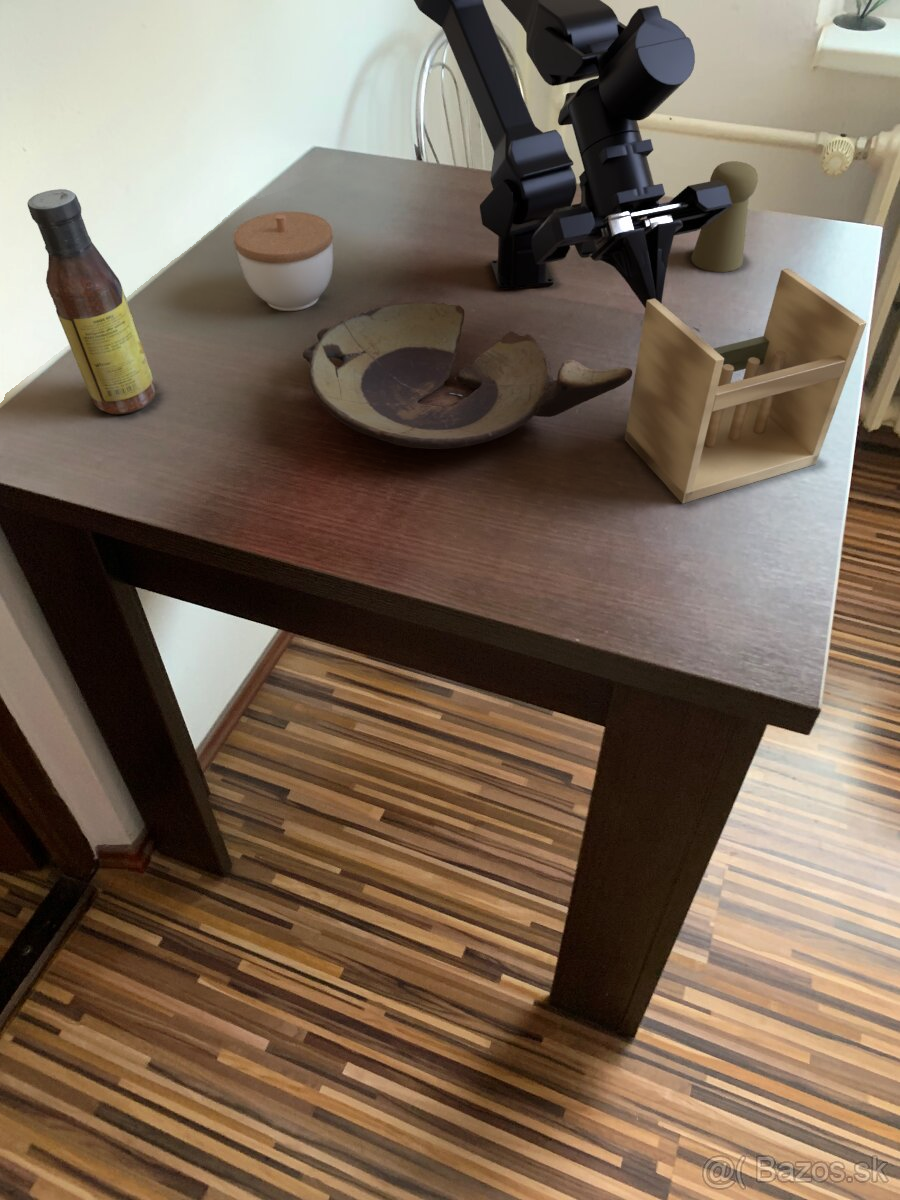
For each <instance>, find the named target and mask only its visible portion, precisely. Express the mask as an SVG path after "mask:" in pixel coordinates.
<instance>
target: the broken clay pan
mask: <svg viewBox="0 0 900 1200" xmlns="http://www.w3.org/2000/svg"><path fill="white" fill-rule="evenodd" d="M464 319H465V309H464V308H463V307H462V306H461V305H455V304H454V305H453V304H447V303H443V302H441V303H440V302H434V301H433V302H414V301H413V302H412V301H409V302H399V303H393V304H388V305H384V306H381V307H377V308H374V309H373V310H372V309H371V310H369V311H366V312H361V313H360V314H359V315H353V316H352V317H349V318H348V319H346V320H343V321H340V322H339V323H338V324H336V325H333V326H330V327H325V328H322V329H320V330H319V331H318V332H317V334H316V338H317V340H318V341H317V342H316V343H314V344H313V345H312V346H310V347H307V348H305V349H304V350H303V351H302V357H303V359H305V361H306V362H307V363H309V367H308V378H309V381H310V386H311V389H312V391H313V394H314V395H315V397H316V399H317V400H318V402H319V403H320V404H321V406H323V408H324V409H325V410H326V411H327V412H328V413H329V414H330V415H332V416H333V418H335V419H337V421H340V422H341V423H343V424H344V425H346V426H347V427H349V428H350V429H352V430H354V431H357V432H358V433H361V434H364V435H367V436H369V437H372V438H375V439H377V440H379V441H380V440H381V441H383V442H388V443H390V444H393V445H397V446H402V447H406V448H414V449H426V450H427V449H428V450H443V449H444V450H445V449H456V448H464V447H470V446H474V445H480V444H483V443H486V442H487V443H488V442H490V441H494V440H495V439H496V440H497V439H499V438H501V437H504V436H506V435H508V434H510V433H513V432H514V431H515V430H517V429H518V428H520V427H521V426H524V425H525V424H526V423H527V422H529V421H530V420H531V419H532V418H533V417H541V418H551V417H555V416H557V415H560V414H562V413H564V412H567V411H568V410H571V409H572V408H574V407H576V406H579V405H581V404H583V403H585V402H588V401H590V400H592V399H595V398H597V397H599V396H601V395H603V394H606V393H608V392H610V391H612V390H615V389H618V388H620V387H622V386H623V385H624V384H626V383H627V382H628V381H630V380H631V378H632V376H633V369H631V368H629V367H626V366H618V367H614V368H608V369H592V368H588V367H586V366H585V365H584V364H582V363H580V362H579V361H577V360H575V359H573V358H572V359H571V358H570V359H566V360H565V361H563V362H562V364H561V366H560V369H559V370H558V372H557V373H558V374H557V376H556V377H557V378H556V379H554V377H553V376H552V373H551V366H550V361H549V360H548V356H547V354H546V353H545V350H544V349H543V348H542V346H541V345H540V344H539V342H538V341H537V340H536V339H535V338H534V337H533V336H531V335H530V334H529V333H526V334H524V335H521V334H519V333H517V332H514V331H510V332H508V333H506V334H505V335H503V337H502V338H501V339H498V340H497V341H496V342H495V344H494V345H493V346H492V347H491V348H489V349H486V350H485V351H484V352H483V353H481V355H479V357H476V359H474V360H473V361H471V362H470V363H469V364H468V365H466V366H465V367H463V368H462V369H461V370H460V371H458V373H457V374H456V376H455V380H457V381H458V382H459V383H462V384H464V385H466V387H467V386H469V387H472V388H473V389H474V390H473V392H472V393H469V395H467V396H466V397H463V394H456V393H453V392H452V393H451V392H449V393H448V394H449V395H456V396H460V397H461V399H459V401H458V402H457V403H455V404H453V405H451V406H448V407H447V406H440V405H438V406H437V405H433V404H427V403H425V404H424V403H420V402H419V401H422V400H423V399H424V398H426V397H427V396H429V395H431V394H433V393H435V392H436V391H437V390H438V389H440V388H442V386H443V385H444V384H445V381H448V379H449V377H450V376H451V372H452V370H453V367H454V364H455V358H456V357H457V353H458V349H459V348H458V347H459V342H460V338H461V336H462V329H463V324H464ZM332 359H340V360H341V363H342V364H341V365H340V366H336V365H334V363H333V362H332V361H331V360H332ZM462 397H463V398H462Z"/></svg>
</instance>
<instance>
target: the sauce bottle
mask: <svg viewBox="0 0 900 1200" xmlns="http://www.w3.org/2000/svg"><path fill="white" fill-rule="evenodd" d="M27 208H28V211H29V214H30V216H31V219H32V220H33V221H34V222H35V223H36V224H37V225H36V226H37V227H38V230H39V232H40V236H41V238H42V240H43V242H44V245H45V246H44V249H45V251H46V252H47V254H48V263H47V265H48V268H47V271H46V277H45V284H46V287H47V290H48V293H49V295H50V297H51V299H52V301H53V305H54V308H55V313H56V315H57V317H58V320H59V322H60V324H61V325H60V326H61V327H62V330H63V332H64V334H65V336H66V337H65V338H66V340H67V343H68V344H69V347H70V349H71V352H72V354H73V357H74V359H75V361H76V364H77V366H78V367H77V368H78V370H79V372H80V374H81V377H82V379H83V382H84V384H85V386H86V389H87V391H88V393H89V395H90V397H91V398H92V400H93V404H94V405H95V407H96V408H98V409H99V410H101V411H103V412H105V413H107V414H111V415H126V414H131V413H135V412H137V411H139V410H142V409H144V408H145V407H146V406H148V405H149V404H150V403H151V402H152V401H153V399H154V398H155V396H156V391H155V390H156V388H155V384H154V380H153V379H154V378H153V373H152V370H151V367H150V364H149V362H148V359H147V355H146V354H145V350H144V346H143V343H142V341H141V338H140V335H139V331H138V329H137V326H136V324H135V322H134V318H133V314H132V312H131V309H130V307H129V304H128V301H127V297H126V294H125V292H124V289H123V286H122V284H121V283H122V282H121V281H120V279H119V277H118V276H117V275H116V273H115V272H114V271H113V269H112V268H111V266H110V265H109V264H108V262H107V261H106V259H105V258H104V257H103V255H102V254H101V253H100V251H99V249H98V248H97V247H96V246H95V244H94V242H92V238H91V236H90V235H89V233H88V230H87V228H86V224H85V222H84V219H83V216H82V205H81V203H80V201H79V199H78V196H77V194H76V193H74V192H73V191H72V190H69V189H66V188H57V189H51V190H45V191H43V192H39V193H37V194H34V195H33V196H31V197H30V198H29V199H28V201H27Z"/></svg>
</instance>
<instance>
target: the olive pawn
mask: <svg viewBox="0 0 900 1200" xmlns="http://www.w3.org/2000/svg"><path fill="white" fill-rule="evenodd" d="M715 180H719V181H721V182H722V183H724V184H725V185H726V186H727V188H728V190H729V194H730V198H731V201H732V205H733V206H732V207H730V208H729V209H728V210H726V211H725V212H724V213H722V214H721V215H720V216H718V217H717V218H716V219H714V220H713V221H712V222H710V223H709V224H708V225H707V226H705V227H704V228H702V229H700V230H699V234H698V237H697V240H696V243H695V246H694V248H693V252H692V255H691V261H692V263H693V264H694V265H695V266H696V267H698V268H700V269H702V270H706V271H708V272H714V273H729V272H733V271H735V270H738V269H739V268H740V267H742V265H743V261H744V251H745V241H746V229H747V221H748V210H749V199H750V198H751V197H752V196H753V195H754V193H755V191H756V189H757V185H758V181H759V174H758V172H757V169H756V168H755V167H754V166H752V165H751V164H749V163H747V162H743V161H737V160H736V161H735V160H731V161H725V162H722V163H720V164H718V165H717V166H716V167H715V168H714V169H713V171H712V173H711V176H710V179H709V182H710V181H715Z"/></svg>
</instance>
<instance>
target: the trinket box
mask: <svg viewBox="0 0 900 1200" xmlns="http://www.w3.org/2000/svg"><path fill="white" fill-rule="evenodd" d="M333 238H334V235H333V228H332V225H331V224H330V223H329V222H328V221H327V219H325V218H323V217H321V216H319V215H317V214H313V213H310V212H305V211H303V212H302V211H276V212H271V213H266V214H261V215H258V216H255V217H253V218H250V219H248V220H246V221H244V222H243V223H241V224H240V225H239V226H238V227H237V228H236V230H235V231H234V233H233V244H234V248H235V251H236V254H237V258H238V262H239V265H240V268H241V271H242V275H243V276H244V279H245V281H246V283H247V285H248V286H249V288H250V289H251V291H253V293H254V294H255V295H256V296H257V297H258V298H260V299H261V300H262V301H264V302H266V304H267V305H268V306H269V307H270V308H271V309H274V310H277V311H283V312H295V311H301V310H304V309H308V308H311V307H312V306H314V305H315V304H317V302H318V301H319V299H320V297H321V296H322V295H323V293H324V292H325V291H326V289H327V288H328V286H329V284H330V281H331V279H332V275H333V271H334V270H333V269H334V243H333Z"/></svg>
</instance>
